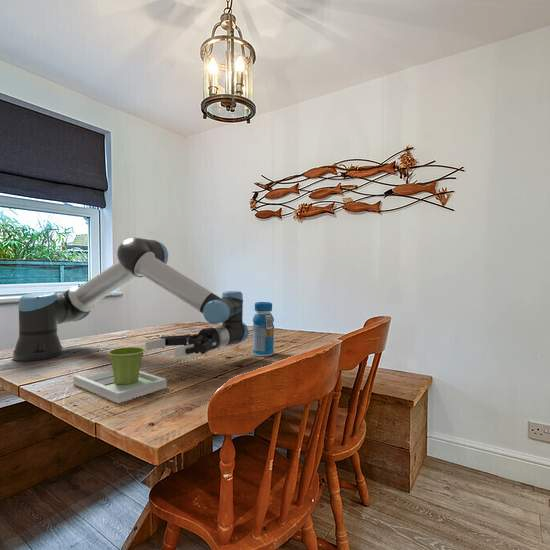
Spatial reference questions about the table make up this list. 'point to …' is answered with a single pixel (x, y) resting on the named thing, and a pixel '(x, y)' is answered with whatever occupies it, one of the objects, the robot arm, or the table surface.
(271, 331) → the beverage bottle
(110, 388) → the box
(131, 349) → the plant pot
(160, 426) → the table surface
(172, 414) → the table surface
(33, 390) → the table surface
